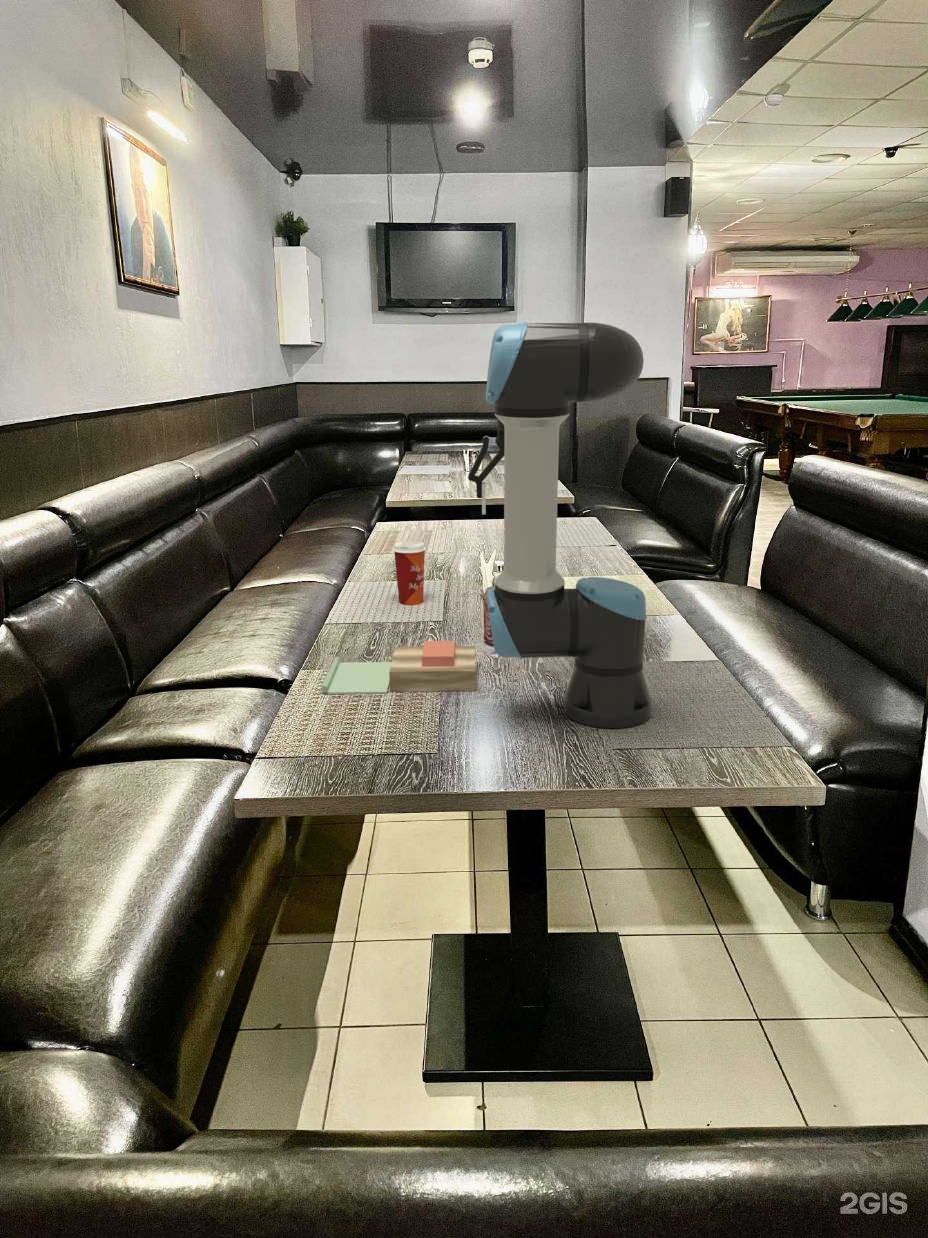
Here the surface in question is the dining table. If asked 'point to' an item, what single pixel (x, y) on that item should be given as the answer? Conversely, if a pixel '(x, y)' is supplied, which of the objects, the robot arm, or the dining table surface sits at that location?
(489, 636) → the beverage can
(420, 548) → the coffee cup
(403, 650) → the deck
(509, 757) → the dining table surface
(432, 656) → the block
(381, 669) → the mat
